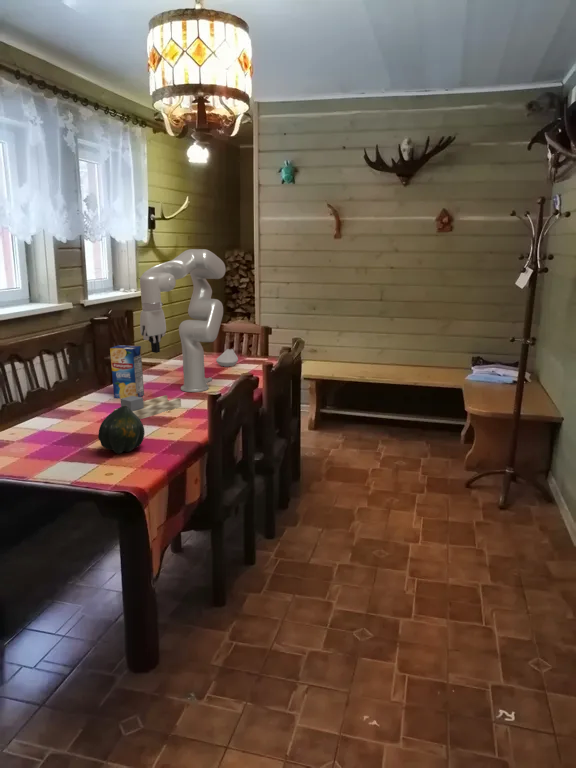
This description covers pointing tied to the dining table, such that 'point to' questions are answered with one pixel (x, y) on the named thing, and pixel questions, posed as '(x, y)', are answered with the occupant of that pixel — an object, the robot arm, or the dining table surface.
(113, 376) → the beverage box
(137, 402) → the slate block
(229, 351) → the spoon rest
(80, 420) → the dining table surface
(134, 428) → the squash
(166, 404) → the birch chute
